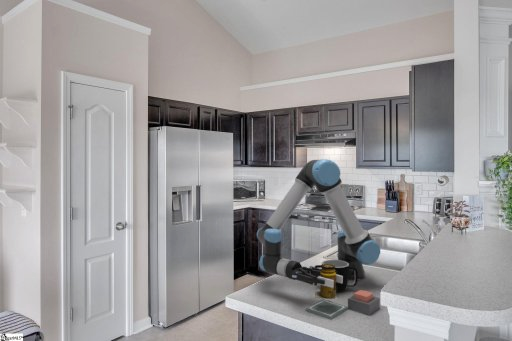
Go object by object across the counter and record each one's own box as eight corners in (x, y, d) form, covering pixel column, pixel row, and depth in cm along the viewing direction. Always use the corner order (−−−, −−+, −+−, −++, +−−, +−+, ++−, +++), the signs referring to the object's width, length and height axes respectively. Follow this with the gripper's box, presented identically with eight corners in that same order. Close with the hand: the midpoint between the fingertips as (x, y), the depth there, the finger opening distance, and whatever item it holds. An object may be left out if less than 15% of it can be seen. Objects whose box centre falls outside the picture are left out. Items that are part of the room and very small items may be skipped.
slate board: (323, 301, 144) (323, 299, 144) (348, 309, 136) (348, 306, 136) (305, 310, 135) (305, 308, 135) (331, 319, 127) (331, 317, 127)
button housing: (358, 301, 143) (358, 292, 143) (379, 308, 136) (379, 298, 136) (347, 308, 136) (347, 298, 136) (369, 315, 130) (369, 304, 130)
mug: (311, 286, 162) (310, 260, 161) (339, 281, 168) (338, 256, 168) (331, 298, 147) (331, 270, 146) (361, 292, 153) (361, 265, 153)
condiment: (337, 299, 131) (338, 268, 130) (315, 298, 132) (315, 267, 131) (335, 292, 138) (335, 263, 138) (314, 291, 139) (314, 262, 139)
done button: (360, 297, 140) (360, 289, 140) (373, 300, 136) (373, 293, 136) (354, 301, 136) (354, 293, 136) (367, 304, 132) (367, 297, 132)
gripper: (302, 272, 154) (349, 285, 138) (275, 283, 140) (324, 298, 124) (303, 256, 154) (350, 266, 138) (275, 265, 140) (324, 277, 124)
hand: (337, 281), depth 131 cm, fingers closed on condiment, 6 cm apart
